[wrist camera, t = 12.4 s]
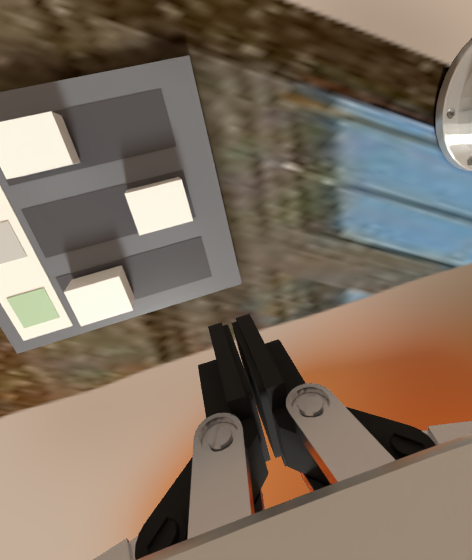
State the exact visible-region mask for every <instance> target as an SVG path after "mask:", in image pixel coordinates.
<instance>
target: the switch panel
mask: <svg viewBox="0 0 472 560" xmlns="http://www.w3.org/2000/svg"><path fill="white" fill-rule="evenodd" d="M50 111H52V112H54V113H57V114H59V115H61V116H62V118H63V120H64V123H65V125H66V128H67V130H68V133H69V135H70V138H71V140H72V143H73V145H74V148H75V150H76V152H77V155H78V157H79V160H80V162H81V163H77V164H73V165H69V166H64V167H60V168H56V169H52V170H47V171H43V172H39V173H35V174H30V175H26V176H22V177H17V178H11V179H6V177H5V175H4V174H3V172H2V170H1V168H0V327H1V329H2V330H3V332H4V333H5V335H6V337H7V338H8V340H9V341H10V343H11V344H12V346H13V347H14V349H15V351H16V352H17V354H18V353H21V352H24V351H27V350H31V349H34V348H37V347H40V346H43V345H47V344H50V343H53V342H56V341H59V340H63V339H66V338H69V337H72V336H75V335H79V334H82V333H85V332H88V331H91V330H95V329H98V328H101V327H104V326H107V325H111V324H114V323H117V322H120V321H123V320H127V319H130V318H133V317H136V316H140V315H143V314H146V313H149V312H152V311H156V310H159V309H162V308H165V307H168V306H172V305H175V304H178V303H181V302H184V301H188V300H191V299H194V298H197V297H200V296H204V295H207V294H210V293H213V292H216V291H220V290H223V289H226V288H229V287H232V286H236V285H239V284H242V283H241V279H240V274H239V270H238V265H237V261H236V257H235V252H234V248H233V244H232V239H231V235H230V231H229V226H228V222H227V218H226V213H225V209H224V204H223V200H222V196H221V191H220V187H219V183H218V178H217V174H216V170H215V165H214V161H213V157H212V152H211V148H210V143H209V139H208V135H207V130H206V126H205V122H204V117H203V113H202V109H201V104H200V100H199V96H198V91H197V87H196V82H195V78H194V74H193V69H192V65H191V61H190V56H189V55H188V56H183V57H178V58H172V59H167V60H162V61H157V62H152V63H147V64H142V65H137V66H131V67H126V68H121V69H116V70H111V71H106V72H101V73H95V74H90V75H85V76H80V77H75V78H70V79H65V80H60V81H54V82H49V83H44V84H39V85H34V86H29V87H24V88H18V89H13V90H8V91H3V92H0V122H2V121H7V120H12V119H17V118H21V117H26V116H31V115H36V114H41V113H45V112H50ZM176 177H179V178H181V179H182V182H183V186H184V189H185V193H186V197H187V200H188V204H189V207H190V211H191V215H192V218H193V221H191V222H187V223H183V224H180V225H176V226H173V227H169V228H165V229H162V230H158V231H154V232H151V233H147V234H143V235H140V236H139V233H138V230H137V227H136V225H135V222H134V219H133V216H132V213H131V211H130V208H129V205H128V202H127V200H126V197H125V192H126V190H128V189H132V188H136V187H140V186H144V185H148V184H152V183H156V182H160V181H164V180H168V179H172V178H176ZM121 265H122V267H123V270H124V272H125V275H126V277H127V280H128V282H129V285H130V287H131V290H132V292H133V295H134V307H133V311H130V312H126V313H123V314H120V315H117V316H113V317H110V318H107V319H104V320H100V321H97V322H94V323H91V324H87V325H84V326H81V325H80V323H79V322H78V320H77V318H76V316H75V314H74V312H73V310H72V308H71V306H70V304H69V302H68V300H67V298H66V296H65V294H64V291H65V289H66V288H67V286H68V284H69V283H70V281H71V280H72V279H76V278H79V277H83V276H86V275H90V274H93V273H96V272H100V271H103V270H107V269H110V268H114V267H117V266H121Z"/></svg>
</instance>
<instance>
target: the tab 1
mask: <svg viewBox="0 0 472 560" xmlns="http://www.w3.org/2000/svg"><path fill="white" fill-rule="evenodd" d="M77 163H81V162H80V160H79V157H78V155H77V152H76V150H75V148H74V145H73V143H72V140H71V138H70V135H69V133H68V130H67V128H66V125H65V123H64V120H63V118H62V116H61V115H59V114H57V113H54V112H52V111H50V112H45V113H41V114H36V115H31V116H26V117H21V118H17V119H12V120H7V121H2V122H0V168H1V170H2V172H3V174H4V175H5V177H6V179H11V178H17V177H22V176H26V175H30V174H35V173H39V172H43V171H47V170H52V169H56V168H60V167H64V166H69V165H73V164H77Z"/></svg>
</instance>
